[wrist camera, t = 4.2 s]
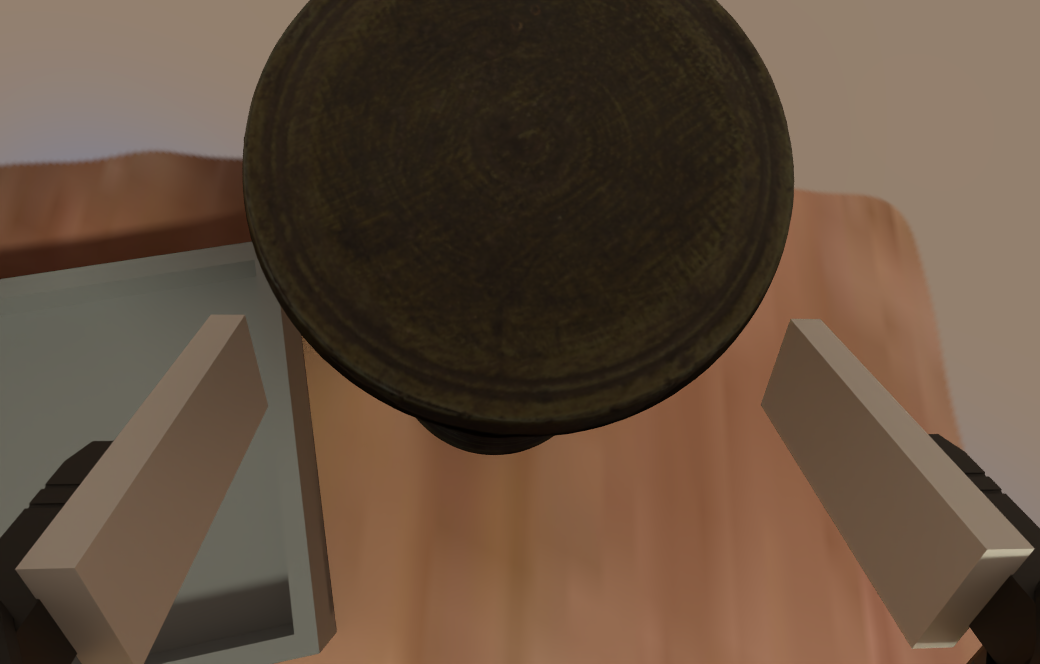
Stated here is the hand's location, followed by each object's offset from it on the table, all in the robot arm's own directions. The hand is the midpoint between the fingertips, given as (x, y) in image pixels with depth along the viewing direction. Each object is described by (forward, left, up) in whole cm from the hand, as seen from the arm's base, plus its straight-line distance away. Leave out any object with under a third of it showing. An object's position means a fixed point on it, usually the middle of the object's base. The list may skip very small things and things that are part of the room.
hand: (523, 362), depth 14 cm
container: (0, +2, -12) cm, 12 cm away
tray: (-16, 0, -11) cm, 20 cm away
